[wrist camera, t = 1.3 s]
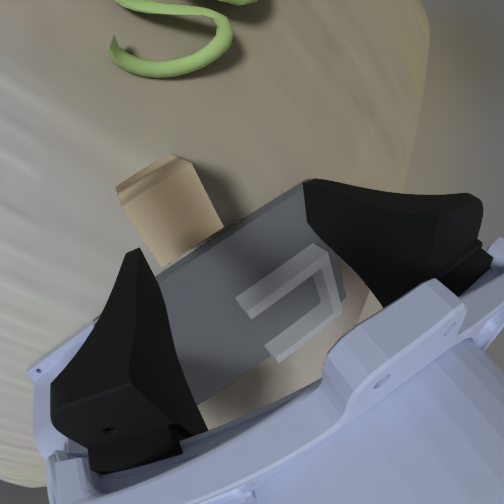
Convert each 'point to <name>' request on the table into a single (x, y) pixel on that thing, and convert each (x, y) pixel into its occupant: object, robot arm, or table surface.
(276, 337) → the holder board
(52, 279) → the table surface
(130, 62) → the figurine
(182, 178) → the connector block
